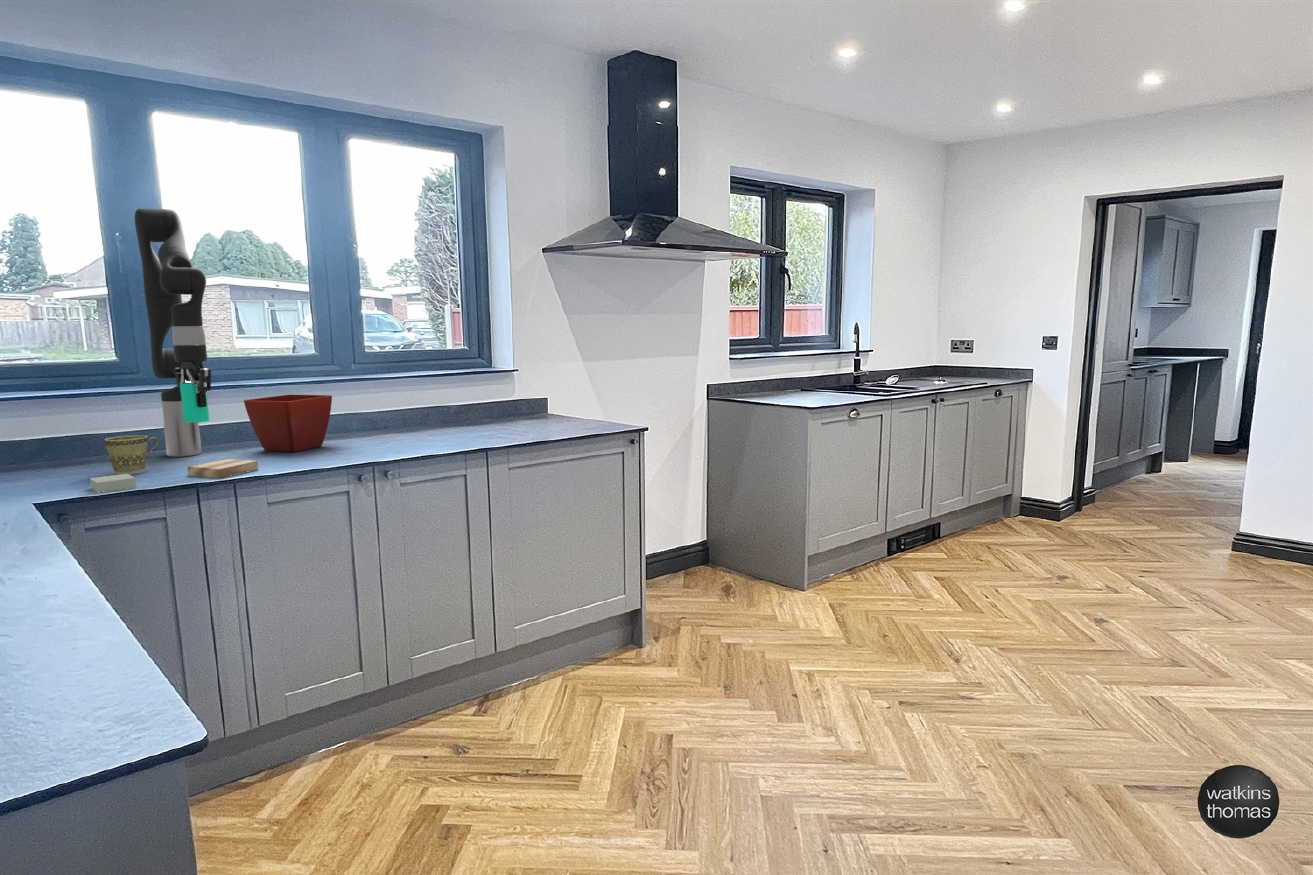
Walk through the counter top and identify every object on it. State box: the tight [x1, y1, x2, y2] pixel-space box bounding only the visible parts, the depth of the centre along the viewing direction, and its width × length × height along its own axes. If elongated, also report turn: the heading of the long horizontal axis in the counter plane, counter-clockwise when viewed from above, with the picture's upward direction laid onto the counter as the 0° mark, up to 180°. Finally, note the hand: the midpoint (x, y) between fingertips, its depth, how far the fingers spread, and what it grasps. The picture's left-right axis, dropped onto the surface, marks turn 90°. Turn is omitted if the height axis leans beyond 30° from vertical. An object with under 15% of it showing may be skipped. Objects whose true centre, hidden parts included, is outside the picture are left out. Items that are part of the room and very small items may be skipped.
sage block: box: [89, 474, 137, 493], centre depth 197 cm, size 8×8×3 cm
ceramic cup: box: [103, 434, 159, 476], centre depth 216 cm, size 13×10×10 cm
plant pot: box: [243, 393, 333, 453], centre depth 253 cm, size 19×19×17 cm
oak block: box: [187, 458, 259, 479], centre depth 215 cm, size 12×12×3 cm
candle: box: [180, 383, 210, 423], centre depth 211 cm, size 6×6×12 cm
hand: (195, 406), depth 211 cm, fingers closed on candle, 5 cm apart
